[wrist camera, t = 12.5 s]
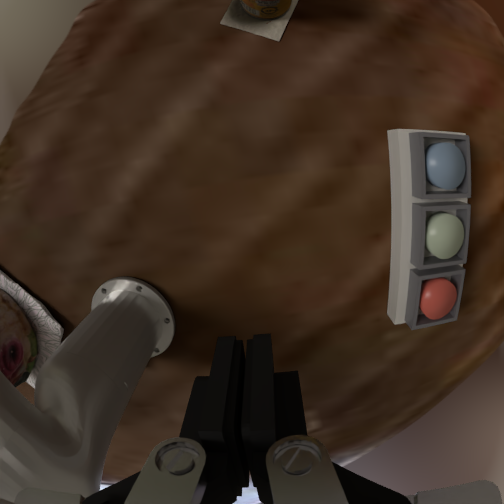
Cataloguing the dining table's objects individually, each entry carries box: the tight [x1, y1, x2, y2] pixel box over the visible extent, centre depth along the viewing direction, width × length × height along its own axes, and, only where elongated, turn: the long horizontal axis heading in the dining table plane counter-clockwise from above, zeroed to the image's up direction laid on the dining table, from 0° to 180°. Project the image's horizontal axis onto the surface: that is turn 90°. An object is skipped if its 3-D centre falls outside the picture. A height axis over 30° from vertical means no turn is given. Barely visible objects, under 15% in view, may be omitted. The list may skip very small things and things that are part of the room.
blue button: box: [424, 143, 466, 190], centre depth 28 cm, size 5×5×2 cm
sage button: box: [425, 211, 464, 259], centre depth 31 cm, size 5×5×2 cm
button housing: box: [387, 129, 471, 330], centre depth 32 cm, size 24×10×6 cm, turn 6°
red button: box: [419, 277, 457, 320], centre depth 33 cm, size 5×5×2 cm
